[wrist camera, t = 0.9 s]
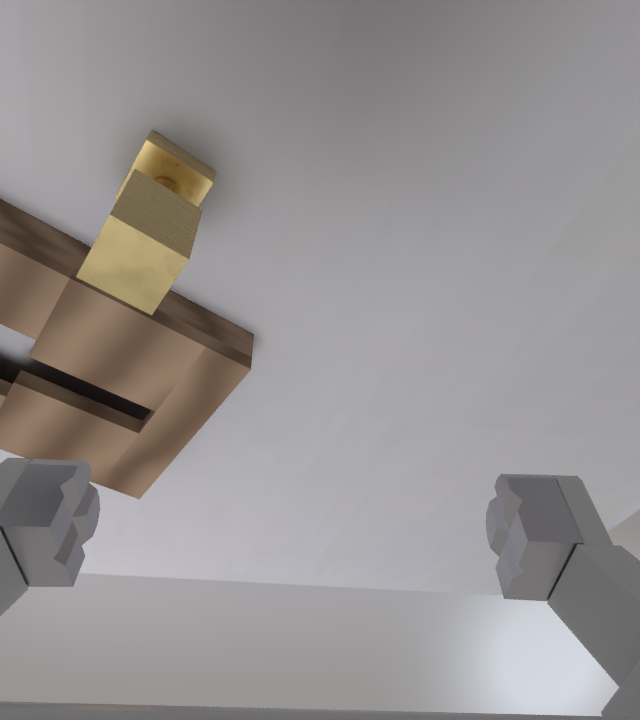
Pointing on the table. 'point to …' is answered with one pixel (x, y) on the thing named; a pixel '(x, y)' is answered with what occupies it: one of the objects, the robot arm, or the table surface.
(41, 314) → the keyhole plate
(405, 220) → the table surface
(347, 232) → the table surface
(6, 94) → the table surface
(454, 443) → the table surface
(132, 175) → the t peg
